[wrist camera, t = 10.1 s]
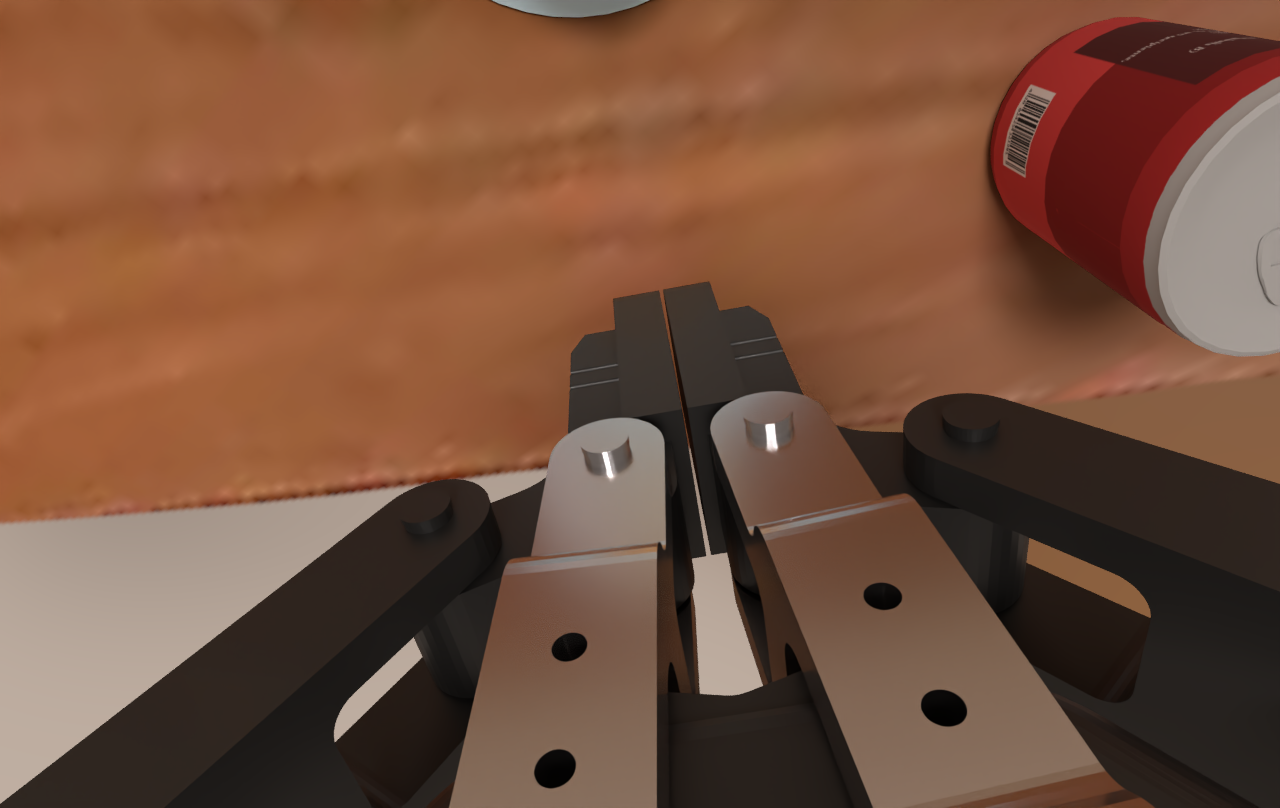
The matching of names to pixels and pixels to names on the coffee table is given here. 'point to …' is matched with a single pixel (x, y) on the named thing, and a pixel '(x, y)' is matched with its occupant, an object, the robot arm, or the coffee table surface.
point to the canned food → (1156, 171)
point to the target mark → (571, 6)
